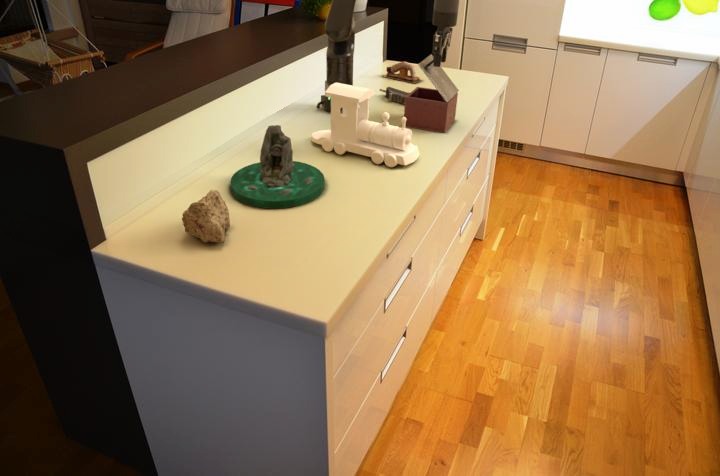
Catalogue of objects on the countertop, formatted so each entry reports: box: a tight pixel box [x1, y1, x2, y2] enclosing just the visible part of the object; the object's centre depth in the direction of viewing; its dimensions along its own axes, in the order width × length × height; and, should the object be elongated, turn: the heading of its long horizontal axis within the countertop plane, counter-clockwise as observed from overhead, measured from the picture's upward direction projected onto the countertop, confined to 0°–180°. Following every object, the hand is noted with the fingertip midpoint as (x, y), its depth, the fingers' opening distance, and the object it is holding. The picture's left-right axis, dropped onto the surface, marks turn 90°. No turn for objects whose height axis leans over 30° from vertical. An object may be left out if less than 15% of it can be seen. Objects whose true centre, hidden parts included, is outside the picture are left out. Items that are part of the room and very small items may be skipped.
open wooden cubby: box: [403, 86, 459, 134], centre depth 201 cm, size 14×13×10 cm
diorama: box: [229, 124, 326, 209], centre depth 156 cm, size 25×25×15 cm
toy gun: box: [379, 86, 411, 105], centre depth 221 cm, size 3×32×15 cm
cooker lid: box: [417, 52, 460, 102], centre depth 194 cm, size 15×13×6 cm
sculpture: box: [382, 61, 423, 84], centre depth 247 cm, size 7×16×7 cm, turn 58°
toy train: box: [310, 83, 420, 168], centre depth 177 cm, size 12×35×19 cm, turn 60°
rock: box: [181, 189, 231, 243], centre depth 137 cm, size 11×12×10 cm
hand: (439, 63), depth 193 cm, fingers closed on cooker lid, 5 cm apart
